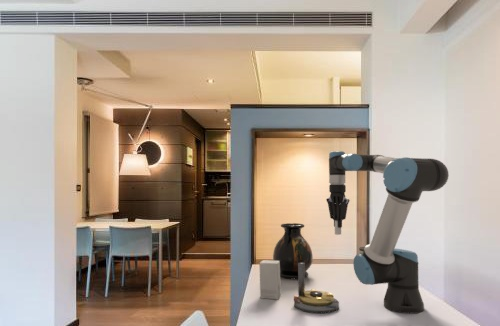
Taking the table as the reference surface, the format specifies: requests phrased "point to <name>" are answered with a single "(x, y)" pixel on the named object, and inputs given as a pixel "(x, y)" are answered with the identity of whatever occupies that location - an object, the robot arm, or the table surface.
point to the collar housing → (316, 309)
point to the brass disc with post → (305, 295)
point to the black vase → (292, 251)
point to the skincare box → (270, 279)
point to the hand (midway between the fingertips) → (338, 234)
